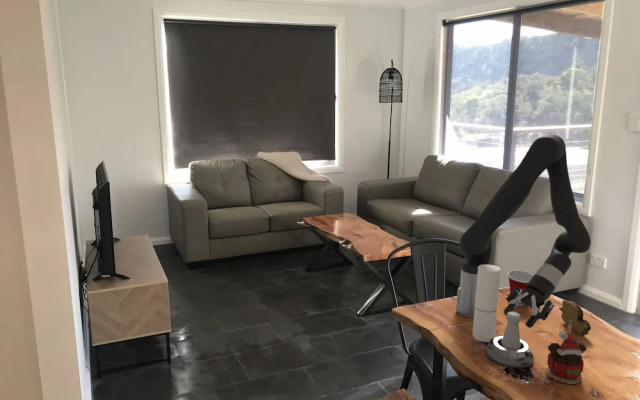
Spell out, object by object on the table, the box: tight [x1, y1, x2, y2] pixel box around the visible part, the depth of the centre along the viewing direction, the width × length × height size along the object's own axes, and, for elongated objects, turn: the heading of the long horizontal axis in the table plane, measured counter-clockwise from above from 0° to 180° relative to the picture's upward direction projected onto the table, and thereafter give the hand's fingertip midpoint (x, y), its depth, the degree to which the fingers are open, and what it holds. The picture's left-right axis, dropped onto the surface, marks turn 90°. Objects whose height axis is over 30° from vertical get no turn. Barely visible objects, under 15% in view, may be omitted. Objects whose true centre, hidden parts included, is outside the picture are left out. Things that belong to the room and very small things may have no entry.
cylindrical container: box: [471, 264, 501, 343], centre depth 173 cm, size 7×7×25 cm
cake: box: [546, 320, 587, 385], centre depth 149 cm, size 11×9×18 cm
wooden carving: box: [558, 299, 592, 337], centre depth 181 cm, size 16×5×10 cm, turn 9°
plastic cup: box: [506, 269, 534, 307], centre depth 202 cm, size 11×11×12 cm
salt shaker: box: [501, 311, 522, 350], centre depth 161 cm, size 6×6×13 cm
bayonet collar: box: [485, 335, 534, 370], centre depth 162 cm, size 14×14×4 cm
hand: (516, 320), depth 161 cm, fingers open, 8 cm apart
